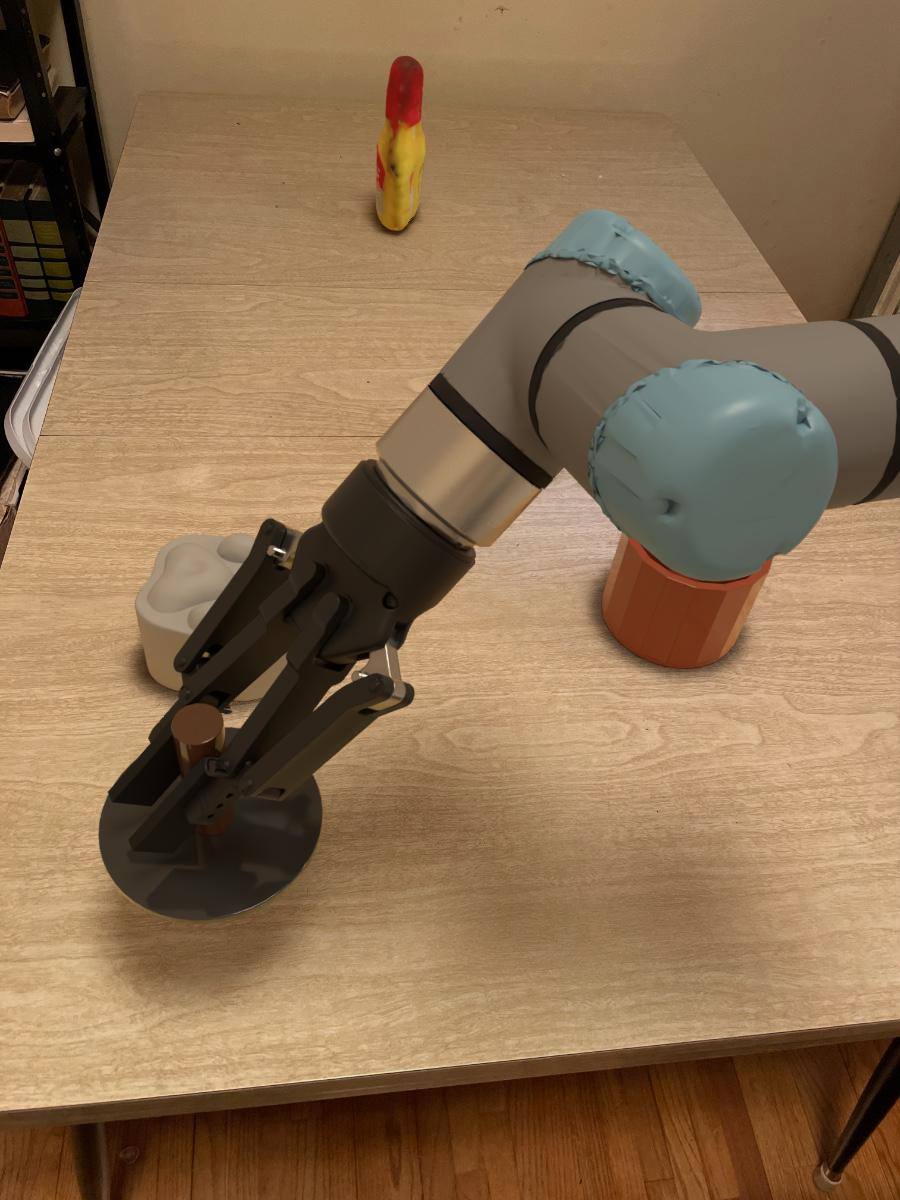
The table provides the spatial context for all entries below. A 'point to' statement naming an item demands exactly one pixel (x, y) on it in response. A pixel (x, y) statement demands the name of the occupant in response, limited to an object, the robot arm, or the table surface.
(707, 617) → the pot
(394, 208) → the bottle
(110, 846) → the lid
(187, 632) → the lumpy-topped squat cylinder
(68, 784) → the table surface
